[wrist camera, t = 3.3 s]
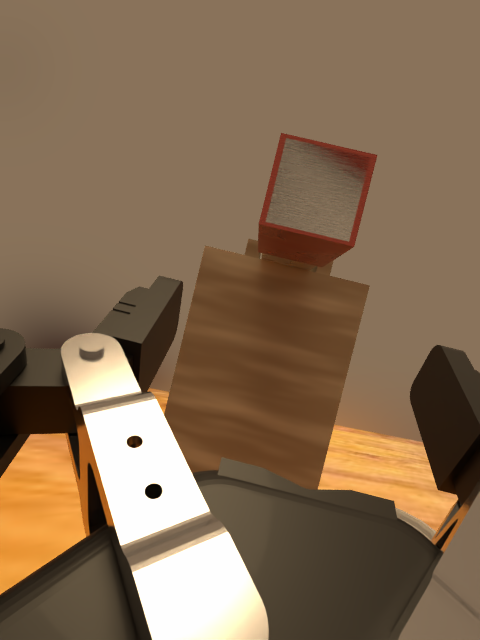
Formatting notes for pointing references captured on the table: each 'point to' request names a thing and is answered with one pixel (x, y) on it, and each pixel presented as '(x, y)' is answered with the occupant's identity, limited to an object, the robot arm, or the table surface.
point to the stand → (263, 364)
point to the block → (313, 202)
